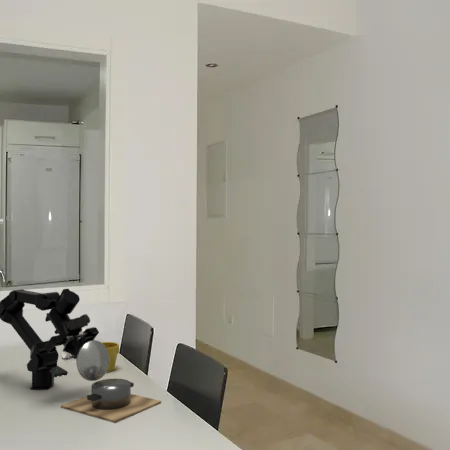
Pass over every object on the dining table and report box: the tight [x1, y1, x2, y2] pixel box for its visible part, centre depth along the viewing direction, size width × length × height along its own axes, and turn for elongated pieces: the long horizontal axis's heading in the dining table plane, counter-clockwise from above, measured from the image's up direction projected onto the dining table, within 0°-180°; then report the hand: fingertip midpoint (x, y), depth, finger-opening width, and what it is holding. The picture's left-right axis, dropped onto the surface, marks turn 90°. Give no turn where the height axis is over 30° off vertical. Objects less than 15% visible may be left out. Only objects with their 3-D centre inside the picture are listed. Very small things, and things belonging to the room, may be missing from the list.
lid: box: [76, 339, 109, 382], centre depth 177 cm, size 13×13×2 cm
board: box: [60, 393, 162, 424], centre depth 173 cm, size 24×20×1 cm
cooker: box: [86, 378, 135, 410], centre depth 173 cm, size 12×17×6 cm
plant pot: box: [100, 341, 120, 373], centre depth 213 cm, size 10×10×10 cm
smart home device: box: [52, 365, 69, 378], centre depth 212 cm, size 8×2×20 cm
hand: (85, 360), depth 179 cm, fingers closed
